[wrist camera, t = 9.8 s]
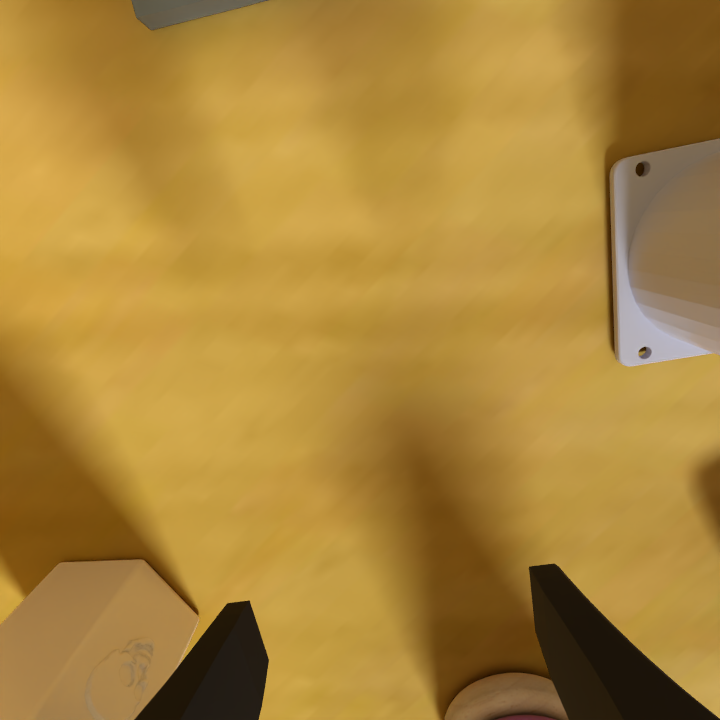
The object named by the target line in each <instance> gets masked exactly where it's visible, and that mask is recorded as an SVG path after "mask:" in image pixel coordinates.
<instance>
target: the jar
mask: <svg viewBox="0 0 720 720" xmlns="http://www.w3.org/2000/svg"><path fill="white" fill-rule="evenodd" d="M198 623H199V617H198V615H197V614H196V613H195V612H194V611H193V610H192V609H191V608H190V607H189V606H188V605H187V604H186V603H185V602H184V601H183V600H182V599H181V598H180V596H179V595H178V594H177V593H176V592H175V591H174V590H173V589H172V588H171V587H170V586H169V585H168V584H167V583H166V582H165V581H164V580H163V579H162V578H161V577H160V576H159V575H158V574H157V573H156V572H155V571H154V570H153V569H152V568H151V566H150V565H149V564H148V563H147V562H146V561H145V560H143V559H132V560H105V561H78V562H61V563H59V564H57V565H56V566H55V567H54V568H53V569H52V570H51V572H50V573H49V574H48V575H47V576H46V577H45V578H44V579H43V580H42V581H41V582H40V583H39V584H38V585H37V586H36V587H35V588H34V589H33V590H32V592H31V593H30V594H29V595H28V596H27V597H26V598H25V599H24V600H23V601H22V602H21V603H20V604H19V605H18V606H17V607H16V608H15V609H14V610H13V612H12V613H11V614H10V615H9V616H8V617H7V618H6V619H5V620H4V621H3V622H2V623H1V624H0V720H134V719H135V718H136V717H137V716H138V714H139V713H140V712H141V711H142V710H143V709H144V707H145V706H146V705H147V704H148V703H149V701H150V700H151V699H152V698H153V697H154V696H155V694H156V693H157V692H158V691H159V690H160V689H161V687H162V686H163V685H164V684H165V683H166V681H167V680H168V679H169V678H170V676H171V675H172V674H173V672H174V671H175V670H176V669H177V667H178V666H179V664H180V662H181V660H182V658H183V655H184V653H185V651H186V649H187V647H188V644H189V642H190V640H191V638H192V636H193V634H194V631H195V629H196V627H197V625H198Z"/></svg>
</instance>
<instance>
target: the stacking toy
mask: <svg viewBox="0 0 720 720" xmlns="http://www.w3.org/2000/svg"><path fill="white" fill-rule="evenodd" d="M444 720H569V719H568V717H567V714H566V712H565V710H564V707H563V705H562V703H561V700H560V698H559V696H558V693H557V691H556V689H555V686H554V684H553V682H552V680H550V679H547V678H544V677H541V676H538V675H533V674H527V673H503V674H497V675H492V676H489V677H486V678H483V679H480V680H478V681H476V682H474V683H472V684H470V685H469V686H467V687H466V688H464V689H463V690H462V691H461V692H460V693H459V694H458V695H457V696H456V697H455V698H454V699H453V701H452V702H451V704H450V706H449V707H448V710H447V712H446V715H445V718H444Z"/></svg>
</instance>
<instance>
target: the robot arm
mask: <svg viewBox="0 0 720 720" xmlns="http://www.w3.org/2000/svg"><path fill="white" fill-rule="evenodd" d="M638 163H642V164H643V165H644V168H645V169H644V173H643V174H642V175H641V176H640V177H639V176H638V175H637V174H636V171H635V170H636V166H637V165H638ZM610 208H611V241H612V274H613V308H614V341H615V357H616V359H617V361H618V362H620V363H621V364H623V365H625V366H636V365H642V364H648V363H654V362H661V361H667V360H673V359H679V358H686V357H692V356H698V355H704V354H711V353H715V354H718V355H720V138H719V139H714V140H709V141H705V142H700V143H695V144H690V145H685V146H680V147H675V148H670V149H665V150H660V151H656V152H651V153H646V154H641V155H636V156H631V157H626V158H623V159H621V160H618V161H617V162H616V163H615V164H614V165H613V166H612V168H611V170H610ZM642 347H646V352H645V353H644V354H643V355H642V356H638V352H639V350H640V349H641V348H642ZM529 572H530V582H531V592H532V602H533V611H534V621H535V631H536V634H537V637H538V640H539V643H540V647H541V650H542V653H543V656H544V659H545V662H546V665H547V668H548V671H549V674H550V677H551V679H552V682H553V684H554V686H555V689H556V691H557V693H558V696H559V698H560V700H561V703H562V705H563V707H564V710H565V712H566V714H567V717H568V719H569V720H720V719H719V718H718V717H717V716H716V715H714V714H713V713H712V712H711V711H709V710H708V709H707V708H706V707H704V706H703V705H702V704H701V703H699V702H698V701H697V700H696V699H694V698H693V697H692V696H691V695H690V694H688V693H687V692H686V691H685V690H684V689H682V688H681V687H680V686H679V685H678V684H677V683H675V682H674V681H673V680H672V679H671V678H670V677H668V676H667V675H666V674H665V673H664V672H663V671H662V670H661V669H660V668H658V667H657V666H656V665H655V664H654V663H653V662H652V661H651V660H649V659H648V658H647V657H646V656H645V655H644V654H643V653H642V652H641V651H640V650H639V649H638V648H636V647H635V646H634V645H633V644H632V643H631V642H630V641H629V640H628V639H627V638H626V637H625V636H624V635H623V634H622V633H621V632H620V631H619V630H618V629H617V628H616V627H615V626H614V625H613V624H612V623H611V622H610V621H609V620H608V619H607V618H606V617H605V616H604V615H603V614H602V613H601V612H600V611H599V610H598V609H597V608H596V607H595V606H594V605H593V604H592V603H591V602H590V601H589V600H588V599H587V598H586V597H585V596H584V595H583V593H582V592H581V591H580V590H579V589H578V588H577V587H576V586H575V585H574V584H573V582H572V581H571V580H570V579H569V578H568V577H567V576H566V575H565V573H564V572H563V571H562V570H561V569H560V568H559V567H558V566H557V565H556V564H547V565H539V566H531V567H529ZM268 662H269V659H268V656H267V653H266V650H265V647H264V644H263V641H262V638H261V634H260V631H259V628H258V625H257V622H256V619H255V616H254V613H253V610H252V607H251V604H250V601H242V602H234V603H227V605H226V606H225V607H224V608H223V610H222V611H221V612H220V613H219V615H218V616H217V617H216V619H215V620H214V621H213V622H212V624H211V625H210V626H209V628H208V629H207V630H206V631H205V633H204V634H203V635H202V637H201V638H200V639H199V641H198V642H197V643H196V644H195V646H194V647H193V648H192V650H191V651H190V652H189V654H188V655H187V656H186V657H185V659H184V660H183V661H182V662H181V664H180V665H179V666H178V667H177V669H176V670H175V671H174V672H173V674H172V675H171V676H170V678H169V679H168V680H167V681H166V683H165V684H164V685H163V686H162V687H161V689H160V690H159V691H158V692H157V693H156V694H155V696H154V697H153V698H152V699H151V700H150V701H149V703H148V704H147V705H146V706H145V707H144V709H143V710H142V711H141V712H140V713H139V714H138V716H137V717H136V718H135V719H134V720H258V719H259V715H260V711H261V707H262V701H263V695H264V689H265V683H266V676H267V669H268Z"/></svg>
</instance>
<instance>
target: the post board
mask: <svg viewBox="0 0 720 720" xmlns="http://www.w3.org/2000/svg"><path fill="white" fill-rule="evenodd" d="M264 1H267V0H132V4H133V7H134V11H135V14H136V18H137V19H138V20H140V21H141V22H142V23H143V24H144V25H146V26H147V27H148V28H149V29H150V30H154V29H158V28H162V27H166V26H170V25H174V24H178V23H181V22H185V21H189V20H193V19H197V18H201V17H205V16H209V15H213V14H217V13H221V12H224V11H228V10H232V9H236V8H240V7H244V6H248V5H252V4H256V3H260V2H264Z"/></svg>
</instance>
